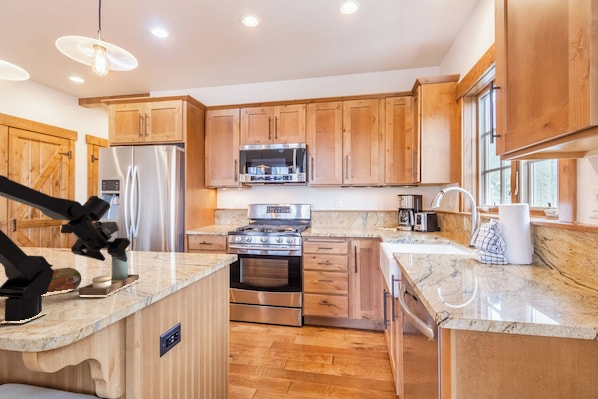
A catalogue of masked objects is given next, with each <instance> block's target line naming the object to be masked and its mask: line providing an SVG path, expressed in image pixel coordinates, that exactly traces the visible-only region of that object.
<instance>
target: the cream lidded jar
mask: <svg viewBox="0 0 598 399" xmlns="http://www.w3.org/2000/svg"><path fill="white" fill-rule="evenodd" d="M111 280H112V275H106V274H105V275H99V276H95V277H93V278H92V283H93V288H106V287H108V286H110V285H111Z"/></svg>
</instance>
